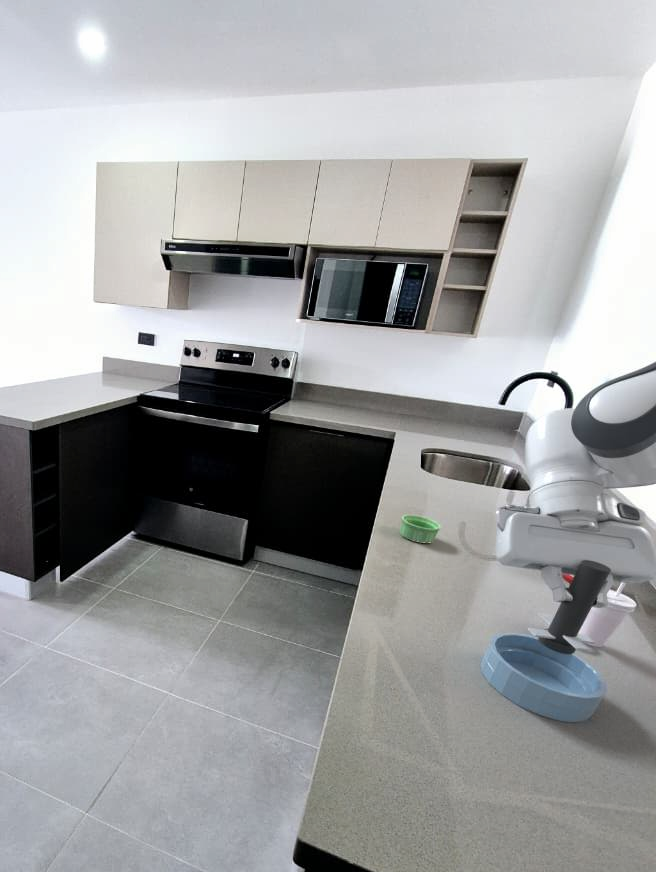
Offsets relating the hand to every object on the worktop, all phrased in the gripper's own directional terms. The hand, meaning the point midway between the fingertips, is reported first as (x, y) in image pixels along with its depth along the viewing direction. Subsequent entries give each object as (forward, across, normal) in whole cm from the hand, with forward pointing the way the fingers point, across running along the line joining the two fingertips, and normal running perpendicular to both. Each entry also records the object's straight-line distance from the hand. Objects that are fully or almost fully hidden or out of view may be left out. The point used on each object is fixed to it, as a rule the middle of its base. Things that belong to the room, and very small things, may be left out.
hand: (580, 604), depth 68 cm
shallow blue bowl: (+10, 0, +11) cm, 15 cm away
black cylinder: (+5, 0, +6) cm, 7 cm away
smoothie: (-1, +18, +23) cm, 30 cm away
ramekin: (-29, +1, +51) cm, 59 cm away
